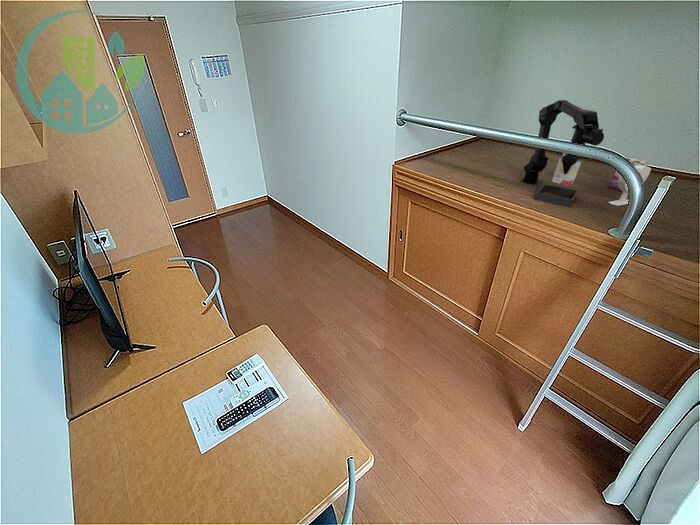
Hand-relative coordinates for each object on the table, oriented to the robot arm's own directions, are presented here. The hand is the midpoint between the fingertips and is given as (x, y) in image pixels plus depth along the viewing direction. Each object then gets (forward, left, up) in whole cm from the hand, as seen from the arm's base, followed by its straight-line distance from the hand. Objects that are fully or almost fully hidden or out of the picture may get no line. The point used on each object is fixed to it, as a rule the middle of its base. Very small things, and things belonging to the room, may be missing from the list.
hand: (566, 172), depth 161 cm
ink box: (0, 0, -6) cm, 6 cm away
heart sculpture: (+27, +11, -13) cm, 32 cm away
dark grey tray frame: (-1, -3, -13) cm, 13 cm away
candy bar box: (+25, +32, -13) cm, 43 cm away
